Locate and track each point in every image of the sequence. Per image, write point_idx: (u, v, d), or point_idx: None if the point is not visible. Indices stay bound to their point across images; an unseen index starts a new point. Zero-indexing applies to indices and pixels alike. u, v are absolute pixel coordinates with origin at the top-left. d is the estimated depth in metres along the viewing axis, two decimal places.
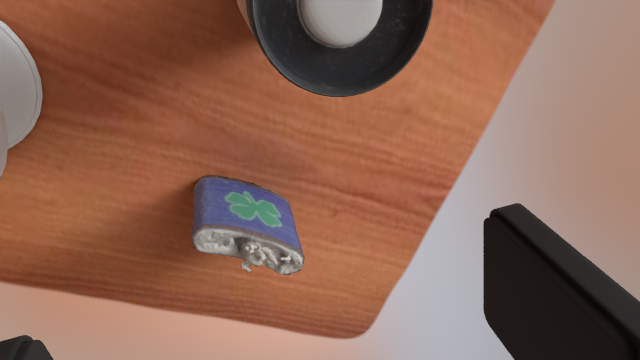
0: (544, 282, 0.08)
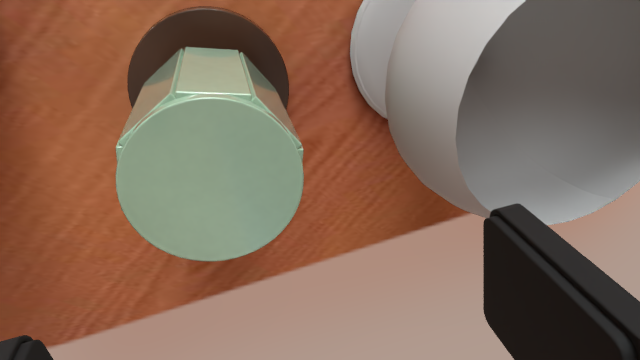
0: (544, 282, 0.08)
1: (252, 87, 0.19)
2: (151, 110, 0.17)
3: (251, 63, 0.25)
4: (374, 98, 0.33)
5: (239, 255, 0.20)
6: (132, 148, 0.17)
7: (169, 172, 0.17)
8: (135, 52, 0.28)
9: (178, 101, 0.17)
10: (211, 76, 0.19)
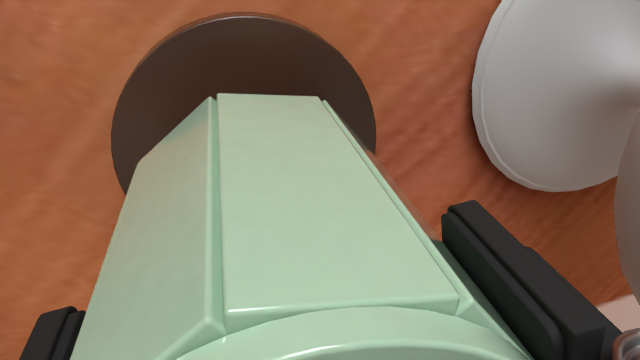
0: (490, 274, 0.08)
1: (425, 238, 0.07)
2: None
3: (344, 122, 0.13)
4: (502, 153, 0.21)
5: None
6: None
7: None
8: (123, 93, 0.16)
9: None
10: (305, 200, 0.07)
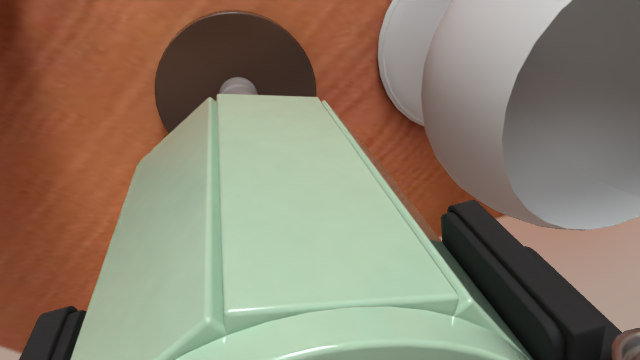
0: (490, 274, 0.08)
1: (424, 238, 0.07)
2: None
3: (344, 122, 0.13)
4: (402, 101, 0.32)
5: None
6: None
7: None
8: (163, 57, 0.28)
9: None
10: (305, 200, 0.07)
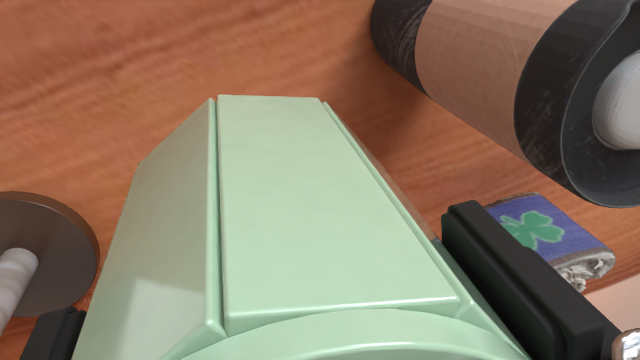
0: (490, 274, 0.08)
1: (425, 240, 0.07)
2: None
3: (344, 123, 0.13)
4: None
5: None
6: None
7: None
8: None
9: None
10: (305, 202, 0.07)
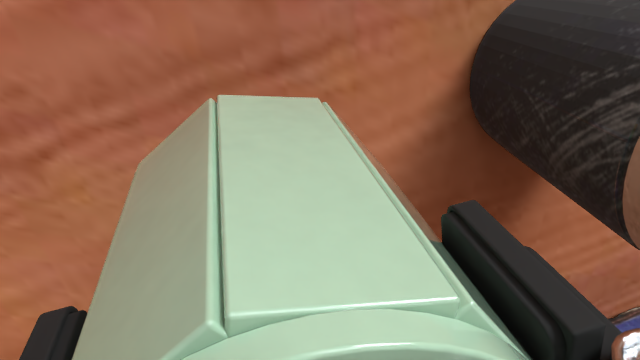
0: (490, 274, 0.08)
1: (425, 240, 0.07)
2: None
3: (344, 123, 0.13)
4: None
5: None
6: None
7: None
8: None
9: None
10: (306, 202, 0.07)
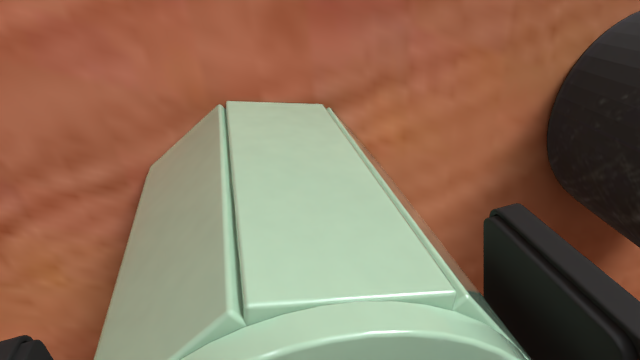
0: (544, 282, 0.08)
1: (425, 239, 0.07)
2: (171, 356, 0.06)
3: (347, 128, 0.13)
4: None
5: None
6: None
7: None
8: None
9: (259, 349, 0.05)
10: (313, 204, 0.08)
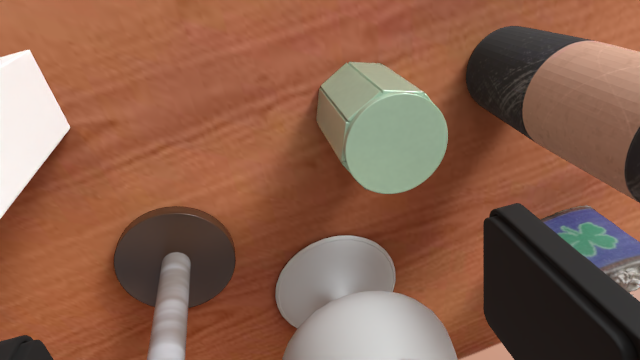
0: (544, 282, 0.08)
1: (416, 87, 0.31)
2: (368, 101, 0.30)
3: None
4: (282, 305, 0.45)
5: (404, 190, 0.32)
6: (359, 122, 0.29)
7: (375, 137, 0.30)
8: (139, 223, 0.38)
9: (387, 95, 0.29)
10: (389, 81, 0.32)
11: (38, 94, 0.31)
